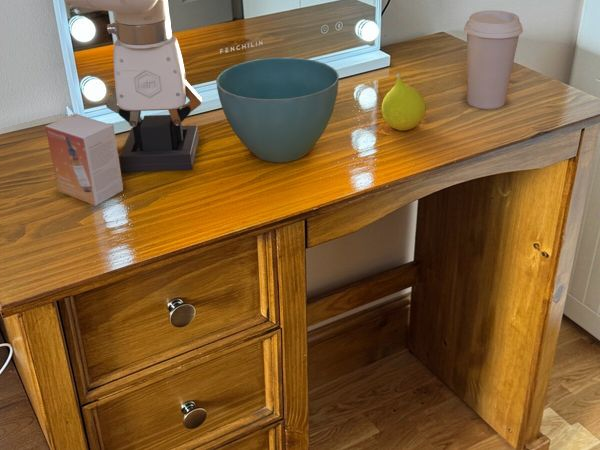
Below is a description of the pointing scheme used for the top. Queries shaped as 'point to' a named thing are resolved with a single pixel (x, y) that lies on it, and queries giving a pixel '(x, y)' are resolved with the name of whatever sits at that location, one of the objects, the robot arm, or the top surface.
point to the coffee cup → (490, 56)
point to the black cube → (156, 133)
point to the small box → (85, 158)
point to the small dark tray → (161, 154)
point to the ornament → (403, 106)
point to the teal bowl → (278, 104)
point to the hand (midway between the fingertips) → (160, 145)
